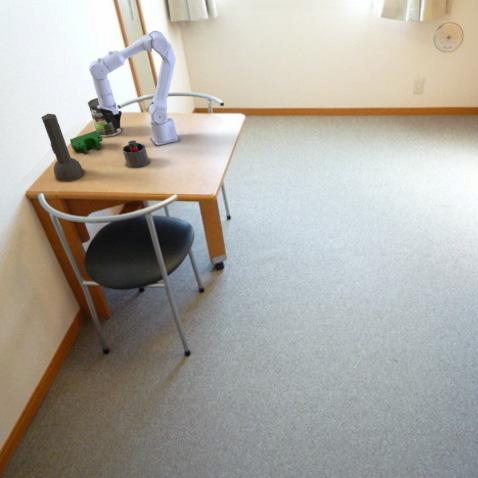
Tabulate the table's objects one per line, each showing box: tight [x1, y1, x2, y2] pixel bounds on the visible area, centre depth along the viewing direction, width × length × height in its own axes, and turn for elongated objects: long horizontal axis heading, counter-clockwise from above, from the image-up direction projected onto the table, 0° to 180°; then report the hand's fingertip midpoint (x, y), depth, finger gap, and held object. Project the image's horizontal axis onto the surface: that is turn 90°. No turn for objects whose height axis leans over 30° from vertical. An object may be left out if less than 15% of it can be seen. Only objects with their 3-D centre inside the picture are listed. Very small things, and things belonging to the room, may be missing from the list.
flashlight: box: [41, 113, 84, 182], centre depth 181 cm, size 10×25×10 cm
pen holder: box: [122, 142, 149, 169], centre depth 194 cm, size 8×8×6 cm
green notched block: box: [69, 130, 103, 155], centre depth 203 cm, size 12×6×9 cm, turn 130°
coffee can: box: [87, 97, 122, 138], centre depth 214 cm, size 10×10×14 cm
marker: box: [127, 140, 138, 152], centre depth 193 cm, size 3×3×8 cm
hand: (113, 125), depth 199 cm, fingers open, 7 cm apart
